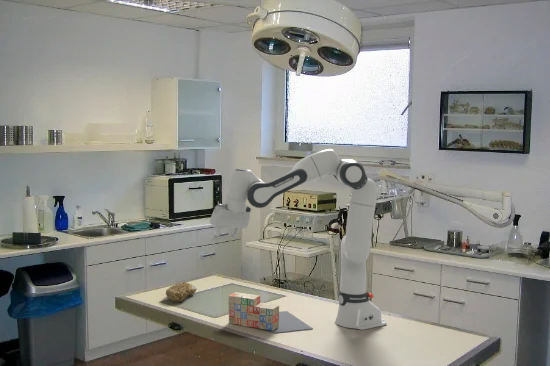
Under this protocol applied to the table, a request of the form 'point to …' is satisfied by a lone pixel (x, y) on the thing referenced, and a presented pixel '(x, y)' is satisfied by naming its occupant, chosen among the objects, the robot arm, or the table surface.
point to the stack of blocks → (252, 312)
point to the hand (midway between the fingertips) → (225, 236)
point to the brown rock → (180, 291)
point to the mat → (290, 323)
